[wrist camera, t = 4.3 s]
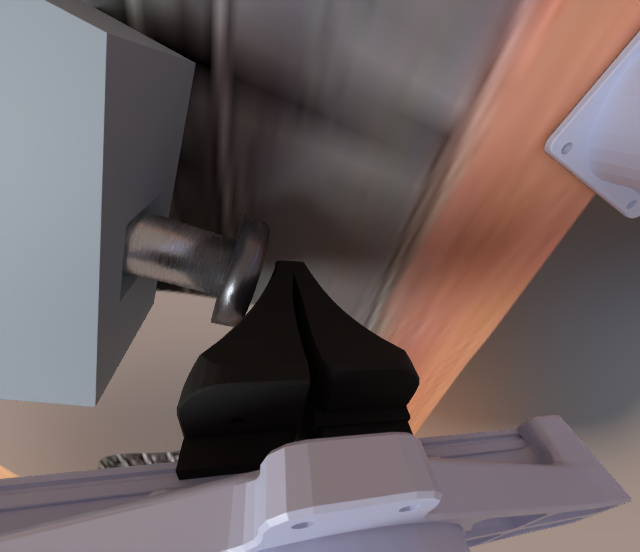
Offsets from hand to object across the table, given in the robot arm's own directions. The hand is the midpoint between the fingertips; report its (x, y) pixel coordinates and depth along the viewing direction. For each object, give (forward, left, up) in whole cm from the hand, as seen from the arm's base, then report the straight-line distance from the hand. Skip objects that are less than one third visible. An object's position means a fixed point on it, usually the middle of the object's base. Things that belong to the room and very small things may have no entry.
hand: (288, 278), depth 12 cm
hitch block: (+7, 0, -2) cm, 8 cm away
